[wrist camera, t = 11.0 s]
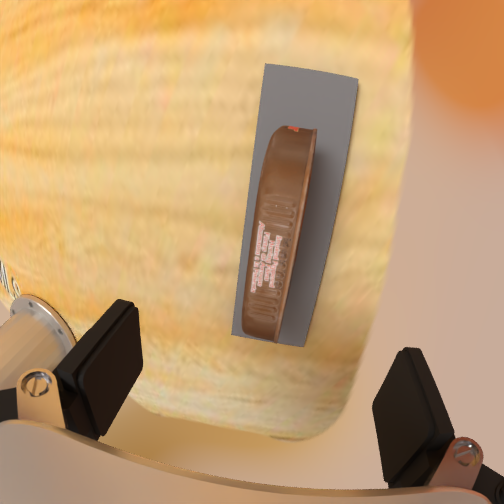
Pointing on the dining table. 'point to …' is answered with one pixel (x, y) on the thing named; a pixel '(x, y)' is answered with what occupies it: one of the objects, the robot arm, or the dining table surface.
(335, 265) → the dining table surface
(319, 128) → the charcoal mat
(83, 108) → the dining table surface
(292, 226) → the tin
